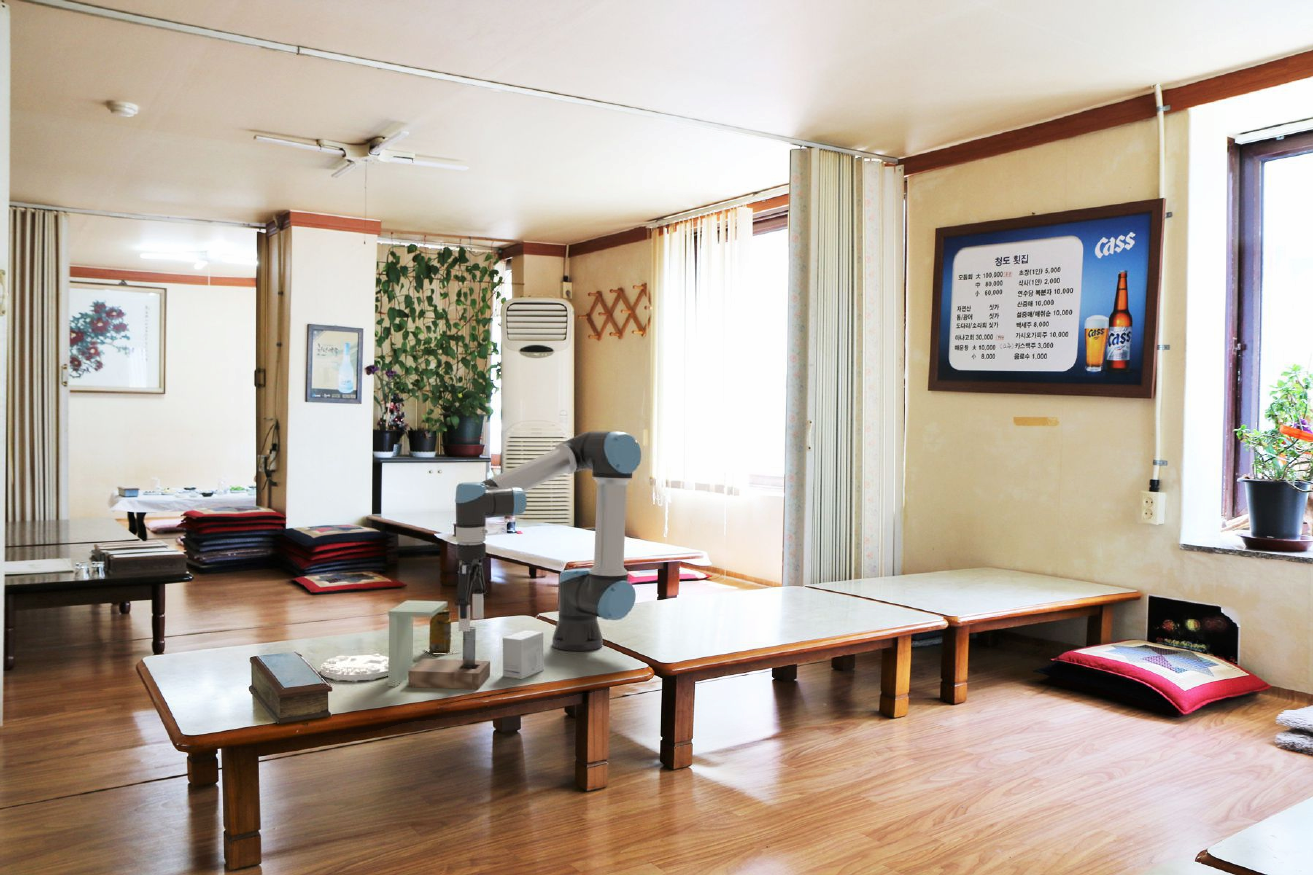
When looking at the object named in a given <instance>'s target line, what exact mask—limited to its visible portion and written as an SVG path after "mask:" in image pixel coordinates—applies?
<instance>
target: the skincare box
mask: <svg viewBox="0 0 1313 875" xmlns="http://www.w3.org/2000/svg"><path fill="white" fill-rule="evenodd" d="M544 661H545V660H544V631H536V630H526V629H525V630H522V631H519V632H516V633H514V634H513V633H512V634H510V635H508V636H504V637H502V677H506V678H512V679H519V680H523V679H525V678H527V677H528V678H529V677H530V676H533V675H535V674H538V673H540V672H543V671H544V669H545V668H544V667H545V666H544Z"/></svg>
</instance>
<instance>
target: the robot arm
mask: <svg viewBox="0 0 1313 875" xmlns="http://www.w3.org/2000/svg"><path fill="white" fill-rule="evenodd" d="M641 461H642V450H641V446H640V444H639V442H638V441H637V440H636V439H635V437H634V436H633V435H631V434H630V433H627V432H622V431H617V430H616V431H608V430H607V431H604V430H603V431H601V430H600V431H599V430H590V431H587V432H584V433H581V434H579V435H576V436H574V437H571V438H569V439H568V440H564V441H563V442H560V443H559V444H556V446H555V448H554V449H553V450H551V451H548V452H546V453H543V454H541V455H540V456H537V457H535V458H533V459H531V460H529V461H527V462H524V463H522V464H520V465H517V466H515V467H513V468H511V469H507V471H504V472H502V473H499V474H497V475H495V476H492V477H490V478H488V479H486V480H483V481H478V482H477V481H475V482H474V481H473V482H470V481H469V482H466V481H465V482H460V483H458V484H457V485H456V488H455V499H454V502H455V542H456V545H455V557H456V559H459V560H463V565H461V564H460V565H459V567H458V568H459V570H458V571H459V572H458V582H457V589H456V590H457V591H456V599H455V602H454V605H455V607H456V606H458V632H463V631H470V627H471V604H470V598H471V593H472V590H473V593H472V619H475V620H477V619H478V620H482V619H483V620H484V594H487V588H486V582H485V581H486V580H485V574H484V566H483V559H485V558H486V557H487V553H486V552H487V544H486V543H485V541H486V540H487V538H486V534H488V532H489V531H488V529H486V523H487V522H486V521H487V520H486V519H491V518H500V517H502V518H504V517H514V516H515V517H516V516H520V515H522V514H524V512H525V511H526V509H527V505H528V503H527V502H528V501H527V500H528V498H527V495H526V492H527V491H530V490H532V489H533V488H536V487H538V486H541V485H543V484H544V483H548V482H549V481H551V480H553V479H555V478H558V477H559V476H562V475H565V474H566V475H572V474H574V473H576V472H580V471H588V470H589V471H590V470H591V471H592V473H591V474H592V476H591V478H592V479H593V480H594V481H595V483H596V505H595V506H596V508H595V509H596V510H595V533H594V556H593V557H594V558H593V560H594V561H593V566H592V567H585V568H583V567H582V568H571V569H565V570H563V571H561V572H560V573H559V577H558V578H559V579H558V584H557V585H558V618H557V623H556V626H555V629H554V631H553V635H552V641H551V645H552V647H554V648H555V649H558V650H562V651H570V652H583V651H585V652H586V651H592V650H597V649H600V648H602V646H603V645H604V644H603V643H604V642H603V639H604V638H603V635H602V632H601V628H600V624H599V621H598V618H601V619H602V620H610V621H619V620H622V619H624V618H625V617H627V616H628V614H629V613H630V612H631V611H632V609H633V608H634V606H635V602H636V596H637V595H636V594H637V593H636V590H635V587H634V586H633V584H632V583H631V582H629V571H628V570H627V569H626V568H625V567H624V565H625V564H624V562H625V560H624V559H625V538H626V537H625V535H626V534H625V533H626V513H627V512H626V511H627V508H626V507H627V486H628V484H629V483H630V482H631V481H632V480H633V473H634V472H635V471H636V470H637V469H638V467H639V465H640V464H641Z"/></svg>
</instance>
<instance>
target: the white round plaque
mask: <svg viewBox="0 0 1313 875" xmlns="http://www.w3.org/2000/svg"><path fill="white" fill-rule="evenodd" d="M388 664H389V656H385V655H381V654H380V653H375V654H373V655H372V654H369V655H368V654H366V655H365V654H364V655H363V654H361V655H337V656H335V657H334V658H333V657H329V658H328V659H326V661H324V662H323V663H322V664H321V665H320V675H322V676H323V677H325V678H328V679H332V680H333V681H336V682H341V681H342V680H343V681H347V682H349V681H352V682H354V683H357V682H358V681H365V680H369V681H375V680H376V679H379V678H384V677H387V676H388ZM340 680H341V681H340Z"/></svg>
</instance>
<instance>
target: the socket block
mask: <svg viewBox="0 0 1313 875" xmlns="http://www.w3.org/2000/svg"><path fill="white" fill-rule="evenodd" d="M462 667H463V659H441V658H439V659H438V658H422V659H421V660H420V661H419V662H418V663H417V664H415V665H413V668H411V669H410V670H409V672H408V677H407V678H408V684H407V686H408V687H409V688H411V687H412V688H431V689H432V688H436V689H439V688H440V689H458V690H459V689H463V690H479V689H480V688H481V687H482V686H483V685H484V684H485V683H486V681H487V680H488V679H489V678H490V676H491V661H490V660H475V669H462Z"/></svg>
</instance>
